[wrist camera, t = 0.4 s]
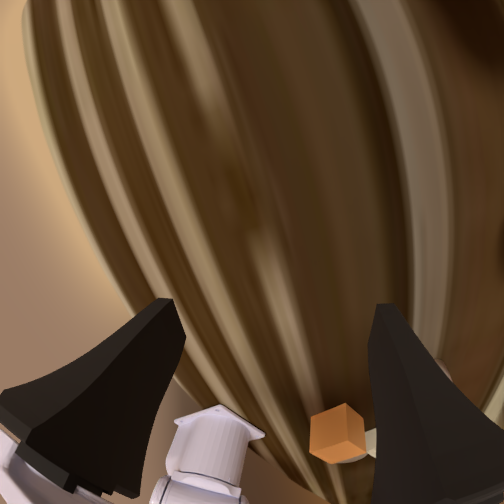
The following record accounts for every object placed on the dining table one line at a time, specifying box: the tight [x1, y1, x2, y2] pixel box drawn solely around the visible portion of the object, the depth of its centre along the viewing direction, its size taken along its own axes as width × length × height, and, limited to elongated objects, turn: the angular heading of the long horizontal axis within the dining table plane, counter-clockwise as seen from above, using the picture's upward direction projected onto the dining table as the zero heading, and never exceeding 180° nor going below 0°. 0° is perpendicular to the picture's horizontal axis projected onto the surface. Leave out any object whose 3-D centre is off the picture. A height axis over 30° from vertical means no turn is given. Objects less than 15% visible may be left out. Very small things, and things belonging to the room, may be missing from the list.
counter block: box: [309, 403, 367, 464], centre depth 26 cm, size 4×4×5 cm
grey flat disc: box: [337, 453, 368, 463], centre depth 32 cm, size 6×6×1 cm
